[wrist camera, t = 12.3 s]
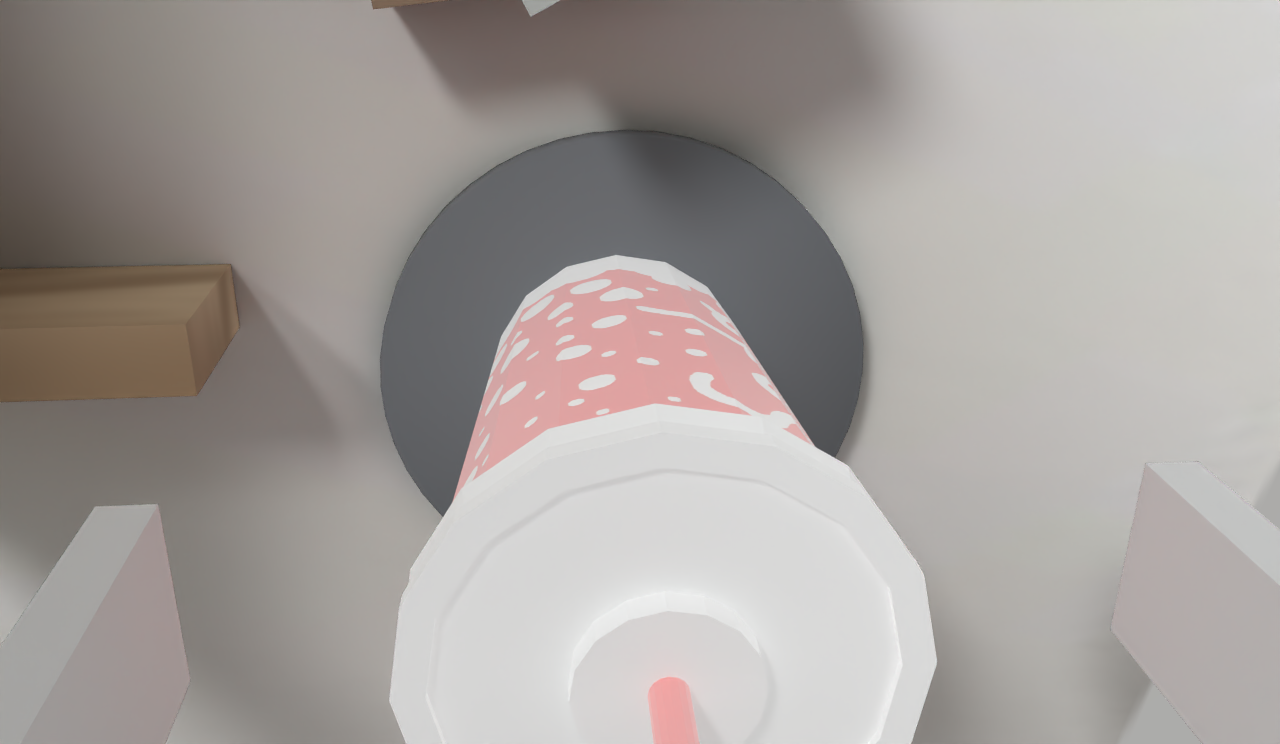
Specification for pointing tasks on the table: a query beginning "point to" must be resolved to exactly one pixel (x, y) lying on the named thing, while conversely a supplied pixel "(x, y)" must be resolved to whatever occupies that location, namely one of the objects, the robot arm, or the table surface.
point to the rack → (113, 330)
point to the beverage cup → (654, 546)
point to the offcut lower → (398, 3)
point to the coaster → (601, 227)
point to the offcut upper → (537, 5)
